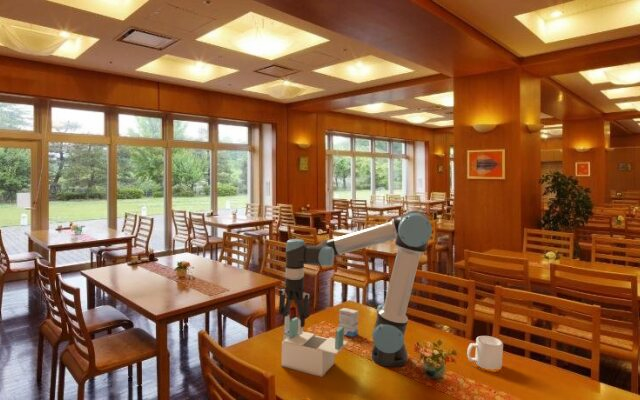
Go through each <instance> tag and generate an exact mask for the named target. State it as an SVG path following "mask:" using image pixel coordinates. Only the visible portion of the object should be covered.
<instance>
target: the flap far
mask: <svg viewBox="0 0 640 400" xmlns="http://www.w3.org/2000/svg"><path fill="white" fill-rule="evenodd" d="M298 319H299V317H296V316H295V317H294V318H291V319H290V321H289V337H288V338H286V339H285V340H284V341H283V340H282V342H284V343H289V344H293V345H297V346H302V345H304V344H305V343H306V342H307V341H309V340H310V339H311V338H312V337H313V336H316V334H315V333H311V332H307V331H303V333H302V334H301V335H298Z"/></svg>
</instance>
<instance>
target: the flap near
mask: <svg viewBox="0 0 640 400" xmlns="http://www.w3.org/2000/svg"><path fill="white" fill-rule="evenodd" d="M334 333H335V334H334V335H335V337H331V336H330V337H327V338H328V339H327V340H326V341H325V342H324V343H323V344H321V345H320V346H319V347H318V348H317V350H318V351H322V352H327V353H331V354H335V356H337V355H338V354H339V353H340V352H341V351H342V350H343V349H344V348H345V347H346V345H348V343H349V341H347V340H344V337H345V335H344V327H341V326H340V327H339V326H338V328H336V330H335V332H334Z"/></svg>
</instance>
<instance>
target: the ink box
mask: <svg viewBox="0 0 640 400" xmlns="http://www.w3.org/2000/svg"><path fill="white" fill-rule="evenodd" d="M338 312H339V314H338V328H339V327H340V326H341V327H344V336H347V337H349V338H350V337H351V338H355V337H356V336H358V334H359V330H358V329H359V310H356V309H351V308H348V307H347V308H346V307H343V308H340V309H339V311H338Z"/></svg>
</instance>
